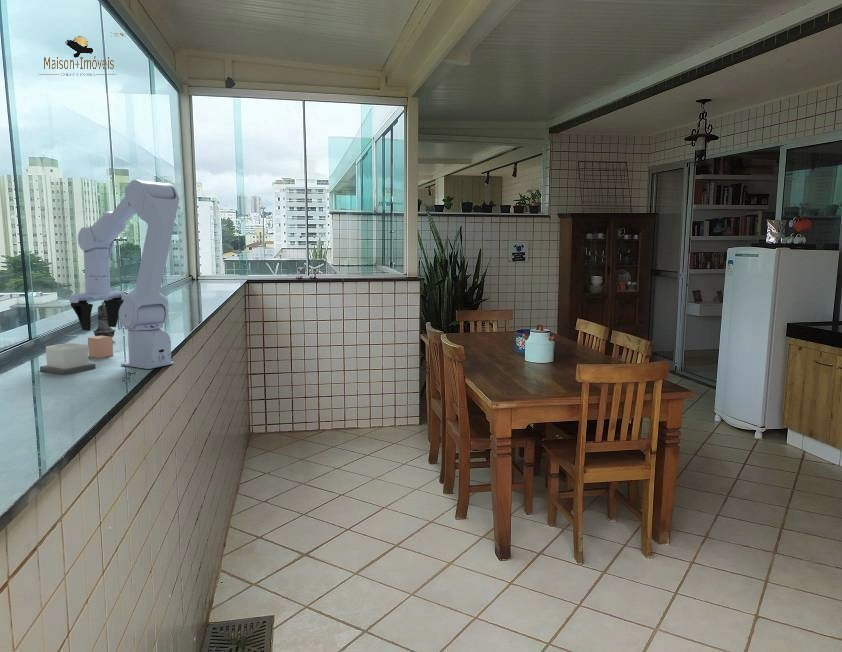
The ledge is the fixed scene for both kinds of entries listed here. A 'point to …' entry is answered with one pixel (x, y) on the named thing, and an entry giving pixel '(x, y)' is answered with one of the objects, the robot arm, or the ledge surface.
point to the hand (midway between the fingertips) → (99, 328)
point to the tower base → (67, 359)
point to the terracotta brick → (100, 346)
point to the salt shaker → (103, 323)
